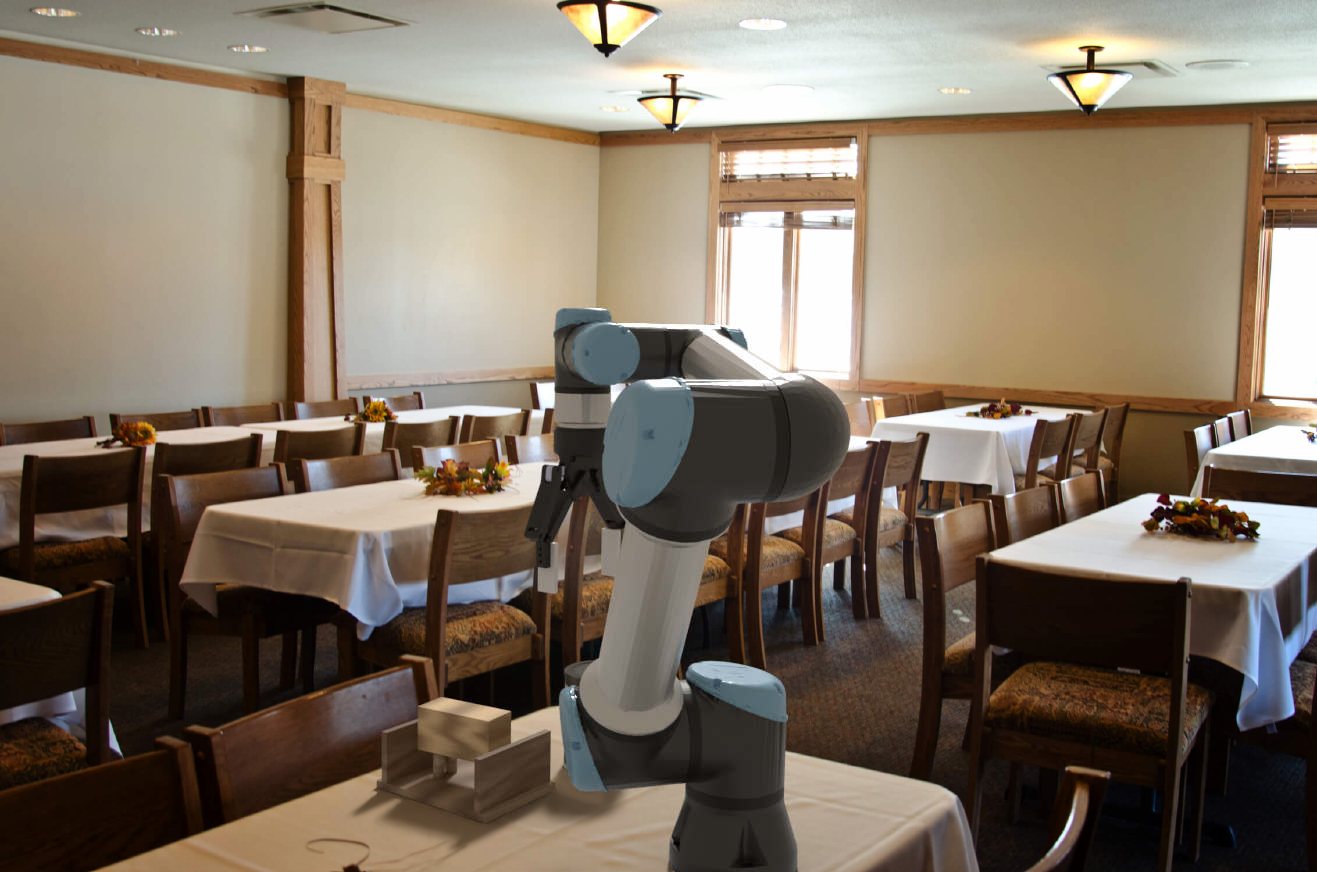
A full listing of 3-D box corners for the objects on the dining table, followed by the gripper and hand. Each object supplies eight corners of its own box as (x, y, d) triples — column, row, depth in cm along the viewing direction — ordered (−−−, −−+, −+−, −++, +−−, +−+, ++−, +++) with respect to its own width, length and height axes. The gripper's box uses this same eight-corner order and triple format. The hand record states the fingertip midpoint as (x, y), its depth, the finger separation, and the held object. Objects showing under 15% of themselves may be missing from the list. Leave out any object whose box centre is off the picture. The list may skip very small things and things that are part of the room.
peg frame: (555, 789, 161) (556, 732, 160) (485, 823, 149) (486, 761, 148) (449, 757, 172) (449, 704, 171) (376, 787, 160) (376, 729, 160)
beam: (510, 754, 160) (511, 711, 159) (488, 765, 155) (488, 721, 155) (441, 738, 165) (441, 696, 165) (417, 749, 161) (417, 706, 160)
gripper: (615, 419, 168) (613, 566, 170) (497, 428, 147) (496, 595, 149) (658, 422, 164) (656, 572, 165) (543, 432, 143) (541, 603, 145)
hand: (580, 583), depth 157 cm, fingers open, 13 cm apart
